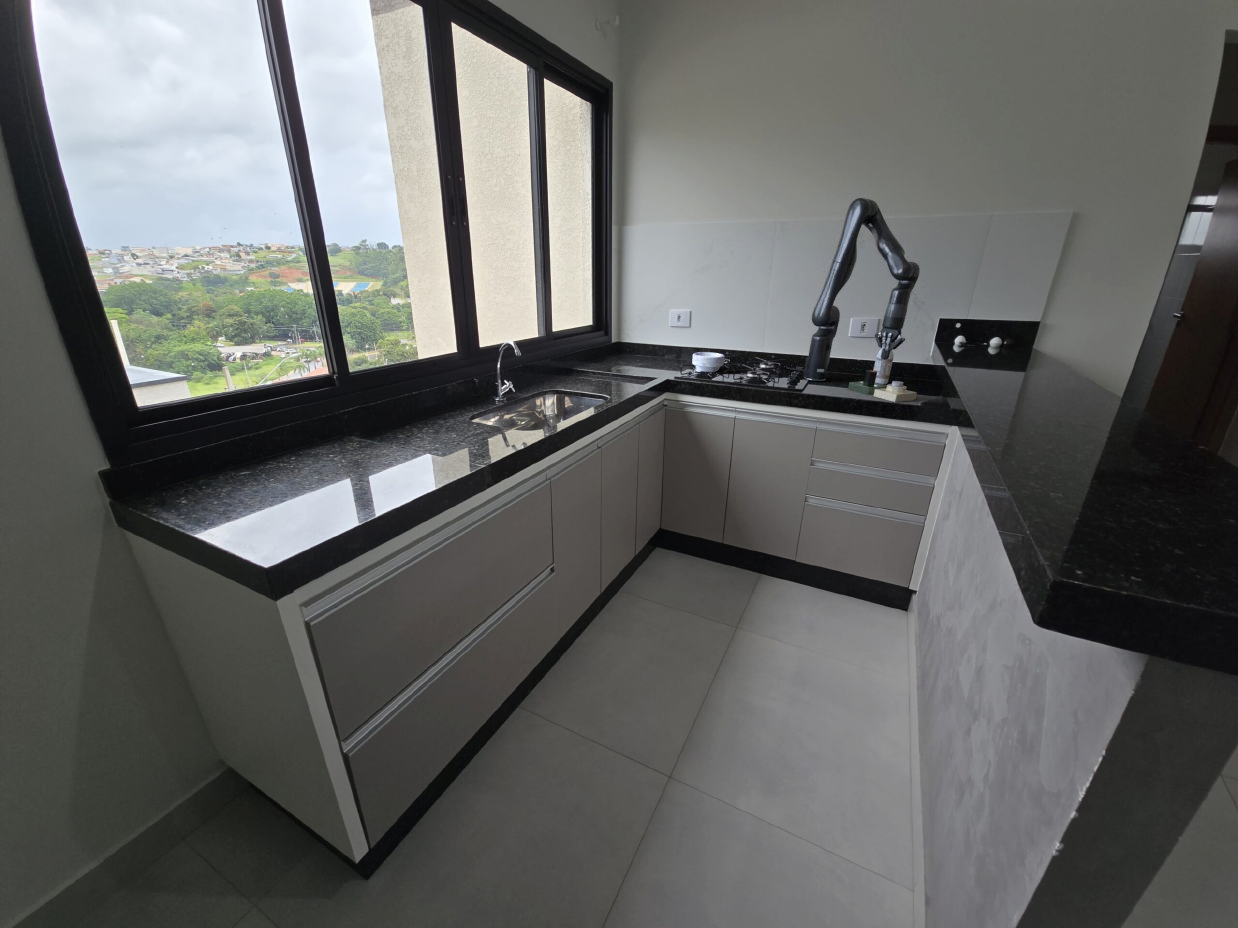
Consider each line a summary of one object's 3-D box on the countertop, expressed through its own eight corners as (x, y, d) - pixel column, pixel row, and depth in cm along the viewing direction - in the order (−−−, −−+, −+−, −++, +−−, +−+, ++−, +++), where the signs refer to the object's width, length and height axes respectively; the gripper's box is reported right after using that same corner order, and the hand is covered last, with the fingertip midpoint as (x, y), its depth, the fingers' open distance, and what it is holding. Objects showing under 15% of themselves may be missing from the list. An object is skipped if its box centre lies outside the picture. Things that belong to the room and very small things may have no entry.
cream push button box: (873, 396, 207) (876, 384, 206) (893, 394, 212) (896, 382, 210) (895, 402, 199) (898, 389, 197) (915, 399, 204) (918, 387, 202)
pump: (889, 386, 205) (890, 381, 204) (895, 385, 206) (896, 380, 206) (897, 388, 201) (899, 383, 201) (904, 387, 203) (905, 382, 202)
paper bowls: (725, 373, 239) (727, 356, 236) (693, 373, 239) (694, 356, 237) (720, 368, 253) (721, 352, 251) (690, 367, 254) (691, 351, 251)
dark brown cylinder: (860, 383, 216) (863, 369, 214) (868, 382, 218) (871, 369, 216) (869, 385, 213) (872, 371, 211) (876, 384, 214) (879, 371, 212)
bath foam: (882, 385, 230) (892, 340, 223) (867, 382, 235) (877, 338, 228) (890, 383, 233) (900, 339, 226) (876, 380, 239) (886, 337, 232)
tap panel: (847, 389, 218) (849, 382, 217) (867, 387, 223) (868, 380, 222) (867, 394, 210) (868, 387, 209) (887, 392, 215) (888, 385, 214)
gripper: (916, 317, 197) (904, 362, 203) (887, 313, 208) (876, 356, 214) (903, 317, 194) (891, 362, 200) (874, 313, 205) (864, 356, 211)
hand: (884, 359), depth 207 cm, fingers closed
